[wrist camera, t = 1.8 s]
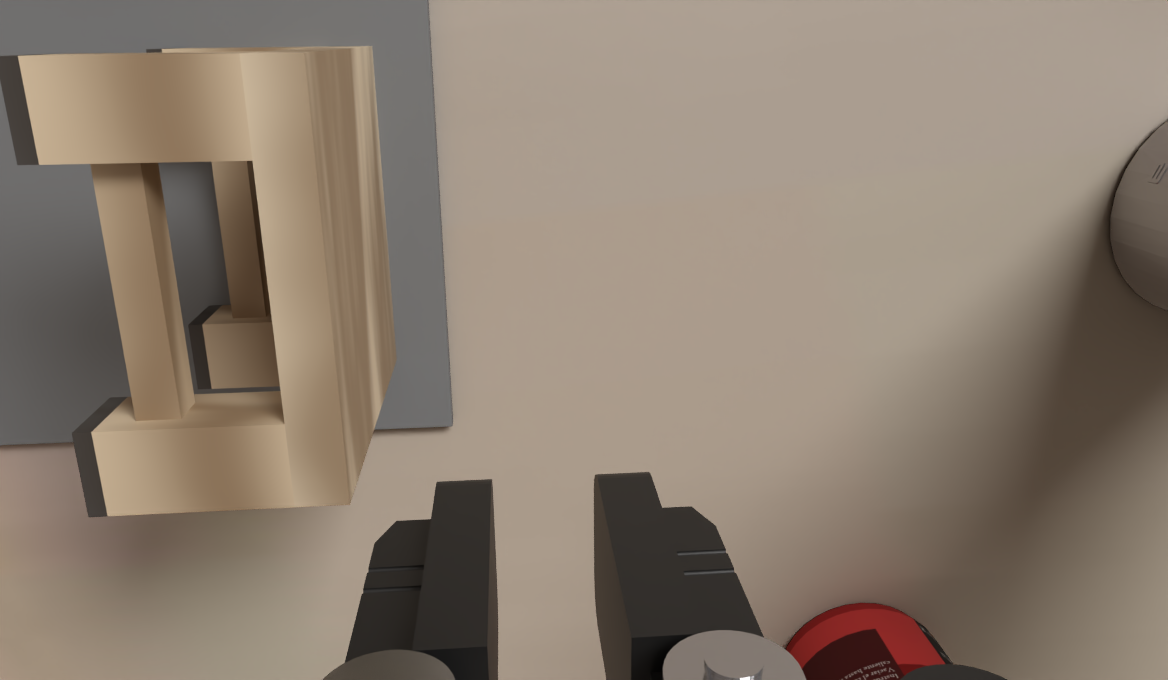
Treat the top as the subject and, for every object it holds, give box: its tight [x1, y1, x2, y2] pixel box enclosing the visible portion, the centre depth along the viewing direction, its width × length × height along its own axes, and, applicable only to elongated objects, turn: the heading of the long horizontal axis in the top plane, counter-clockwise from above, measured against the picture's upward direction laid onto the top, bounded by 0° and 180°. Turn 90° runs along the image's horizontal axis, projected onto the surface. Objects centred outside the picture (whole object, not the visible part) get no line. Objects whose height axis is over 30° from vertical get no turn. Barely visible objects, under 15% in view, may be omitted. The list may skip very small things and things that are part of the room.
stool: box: [0, 46, 397, 517], centre depth 29 cm, size 7×12×12 cm, turn 0°
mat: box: [0, 0, 453, 445], centre depth 35 cm, size 23×18×1 cm
